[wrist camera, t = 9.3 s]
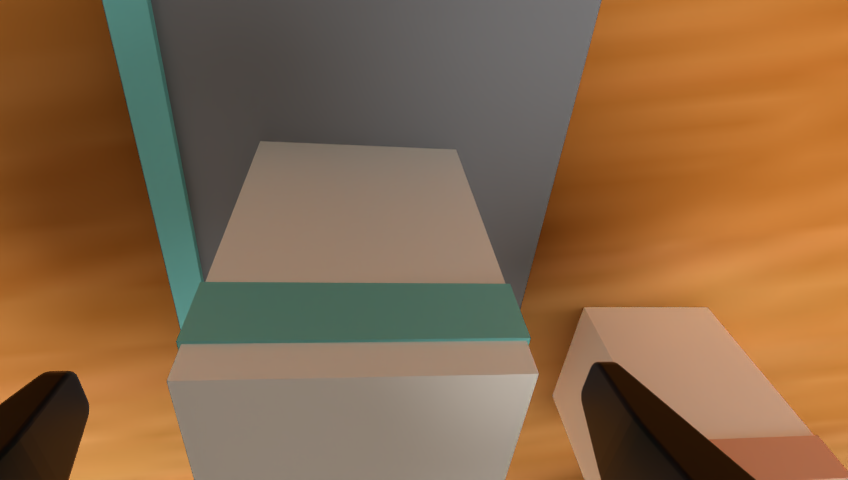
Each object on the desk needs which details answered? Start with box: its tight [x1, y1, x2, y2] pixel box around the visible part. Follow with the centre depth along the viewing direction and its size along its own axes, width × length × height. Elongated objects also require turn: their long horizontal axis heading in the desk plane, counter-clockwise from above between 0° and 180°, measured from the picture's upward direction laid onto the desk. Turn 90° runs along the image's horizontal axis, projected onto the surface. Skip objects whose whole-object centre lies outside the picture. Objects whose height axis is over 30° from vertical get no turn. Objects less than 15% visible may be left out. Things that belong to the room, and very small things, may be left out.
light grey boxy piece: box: [552, 307, 848, 480], centre depth 16 cm, size 5×5×7 cm
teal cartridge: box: [167, 141, 539, 480], centre depth 11 cm, size 5×5×7 cm
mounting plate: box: [102, 0, 601, 330], centre depth 14 cm, size 14×10×1 cm
